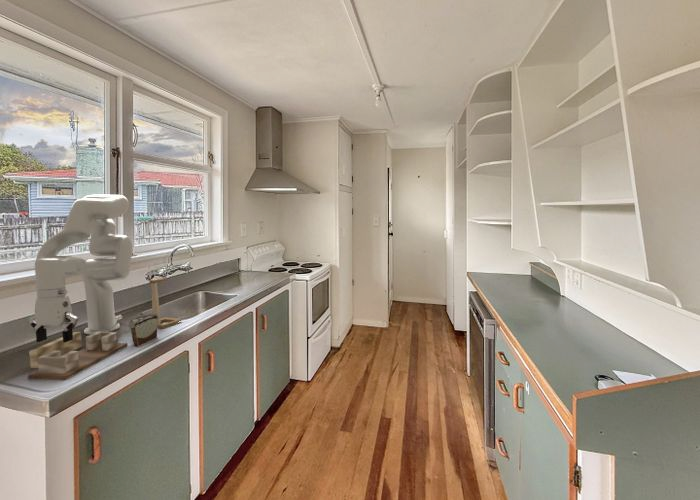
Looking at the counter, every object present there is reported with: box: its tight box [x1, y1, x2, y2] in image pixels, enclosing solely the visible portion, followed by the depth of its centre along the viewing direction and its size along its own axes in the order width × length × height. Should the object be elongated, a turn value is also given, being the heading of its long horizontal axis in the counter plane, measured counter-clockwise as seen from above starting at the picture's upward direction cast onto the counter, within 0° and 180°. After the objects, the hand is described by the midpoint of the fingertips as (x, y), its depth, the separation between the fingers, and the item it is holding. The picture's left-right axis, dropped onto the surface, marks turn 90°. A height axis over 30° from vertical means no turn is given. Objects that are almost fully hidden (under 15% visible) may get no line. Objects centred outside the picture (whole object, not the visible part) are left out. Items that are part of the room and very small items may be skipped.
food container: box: [127, 313, 159, 348], centre depth 130 cm, size 12×6×10 cm, turn 168°
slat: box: [28, 331, 83, 369], centre depth 117 cm, size 18×2×6 cm, turn 1°
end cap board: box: [27, 331, 128, 381], centre depth 113 cm, size 26×12×6 cm, turn 177°
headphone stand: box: [148, 276, 182, 330], centre depth 150 cm, size 10×11×22 cm
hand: (54, 340), depth 115 cm, fingers open, 9 cm apart
